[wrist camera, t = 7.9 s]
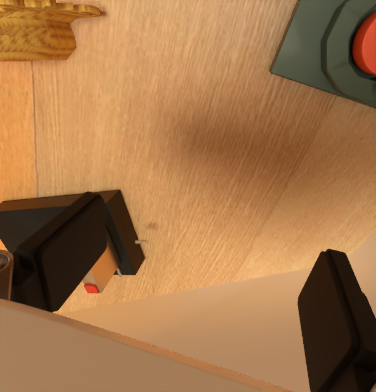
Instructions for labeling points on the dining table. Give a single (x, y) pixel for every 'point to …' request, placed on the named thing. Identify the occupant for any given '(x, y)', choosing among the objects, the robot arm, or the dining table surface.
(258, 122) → the dining table surface
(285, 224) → the dining table surface
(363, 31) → the button
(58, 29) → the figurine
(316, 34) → the button block
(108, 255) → the tan block
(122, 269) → the dial panel
